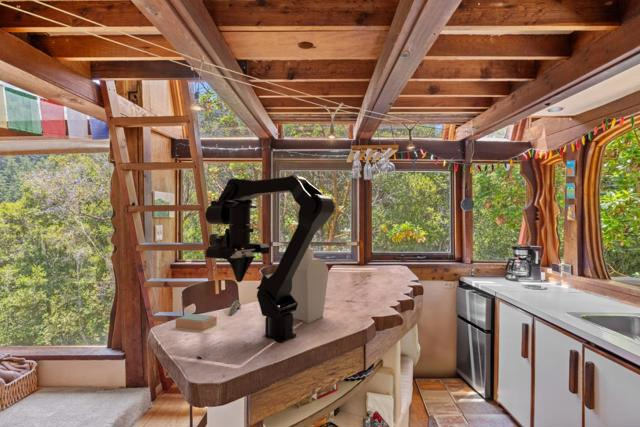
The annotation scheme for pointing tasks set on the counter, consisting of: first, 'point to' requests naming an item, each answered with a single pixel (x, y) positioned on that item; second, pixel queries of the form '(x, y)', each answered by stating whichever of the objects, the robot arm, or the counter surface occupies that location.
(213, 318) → the block
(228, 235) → the robot arm
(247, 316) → the counter surface
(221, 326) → the mat
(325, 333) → the counter surface
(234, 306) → the ceramic fragment
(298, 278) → the soap bottle
